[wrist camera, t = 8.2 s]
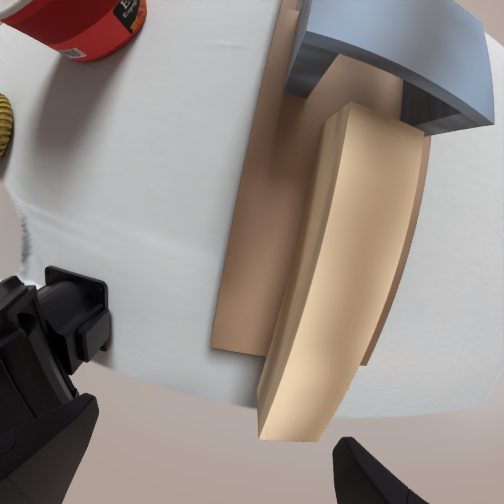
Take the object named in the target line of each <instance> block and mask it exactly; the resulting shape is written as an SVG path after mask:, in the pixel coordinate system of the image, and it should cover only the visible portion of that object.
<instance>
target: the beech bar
mask: <svg viewBox="0 0 504 504" xmlns="http://www.w3.org/2000/svg"><path fill="white" fill-rule="evenodd" d="M423 141H424V132H423V131H421V130H419V129H417V128H414V127H412V126H410V125H408V124H406V123H404V122H401V121H399V120H397V119H395V118H392V117H390V116H387V115H385V114H383V113H380V112H378V111H375V110H373V109H370V108H367V107H365V106H362V105H359V104H356V103H353V102H349V103H348V104H347V105H345V106H344V107H343V108H342V109H340V110H339V111H338V112H337V113H335V114H334V115H333V116H331V117H330V118H329V119H328V120H326V121H325V122H324V123H323V124H322V126H321V131H320V137H319V142H318V147H317V152H316V157H315V162H314V167H313V172H312V177H311V182H310V186H309V191H308V196H307V200H306V205H305V209H304V214H303V218H302V223H301V227H300V231H299V235H298V240H297V244H296V248H295V252H294V256H293V260H292V264H291V269H290V273H289V276H288V280H287V284H286V288H285V292H284V296H283V300H282V304H281V307H280V311H279V315H278V318H277V322H276V326H275V329H274V333H273V337H272V340H271V344H270V347H269V351H268V354H267V358H266V361H265V365H264V368H263V371H262V375H261V378H260V381H259V385H258V388H257V411H258V438H259V439H260V440H261V439H262V440H274V441H294V442H295V441H296V442H318V441H319V439H320V437H321V436H322V434H323V433H324V431H325V429H326V428H327V426H328V424H329V422H330V421H331V419H332V417H333V416H334V414H335V412H336V410H337V408H338V407H339V405H340V403H341V401H342V399H343V397H344V395H345V393H346V392H347V390H348V388H349V386H350V384H351V382H352V380H353V378H354V376H355V374H356V371H357V369H358V367H359V365H360V363H361V361H362V359H363V356H364V354H365V352H366V350H367V347H368V345H369V343H370V340H371V338H372V336H373V333H374V331H375V328H376V326H377V323H378V321H379V318H380V315H381V313H382V310H383V307H384V305H385V302H386V299H387V296H388V293H389V290H390V288H391V285H392V281H393V278H394V275H395V272H396V269H397V266H398V262H399V259H400V255H401V252H402V248H403V245H404V241H405V237H406V233H407V229H408V225H409V221H410V217H411V212H412V208H413V203H414V198H415V193H416V188H417V182H418V176H419V170H420V164H421V157H422V149H423Z"/></svg>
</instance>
